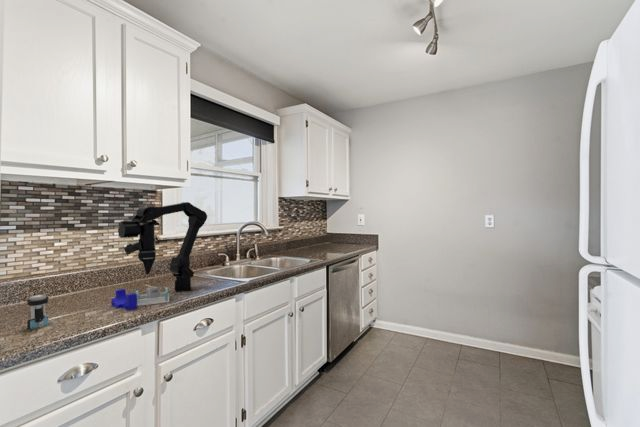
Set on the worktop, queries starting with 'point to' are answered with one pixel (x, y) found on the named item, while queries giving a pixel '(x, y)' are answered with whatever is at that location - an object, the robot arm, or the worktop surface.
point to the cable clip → (124, 300)
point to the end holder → (146, 300)
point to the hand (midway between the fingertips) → (147, 272)
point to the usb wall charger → (153, 292)
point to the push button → (37, 311)
